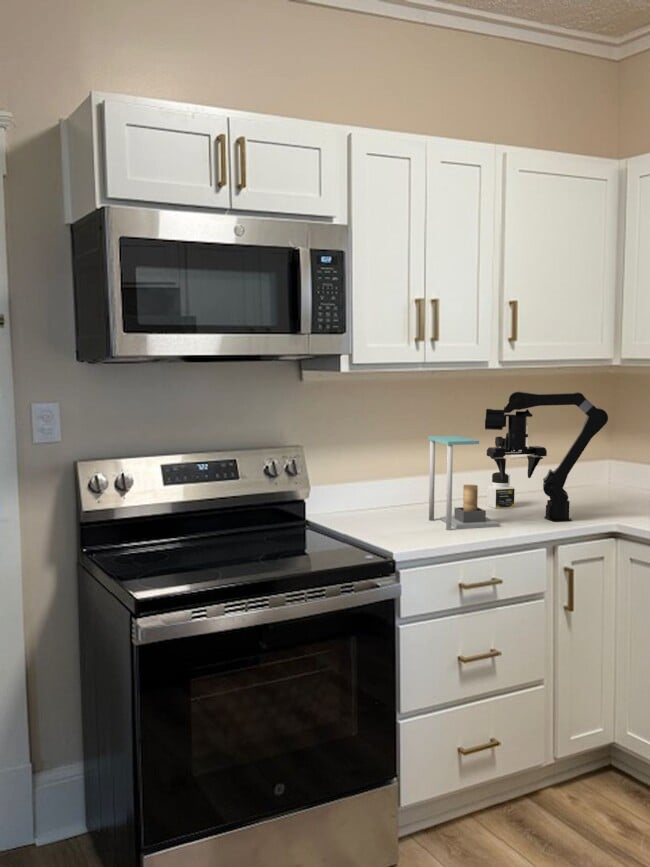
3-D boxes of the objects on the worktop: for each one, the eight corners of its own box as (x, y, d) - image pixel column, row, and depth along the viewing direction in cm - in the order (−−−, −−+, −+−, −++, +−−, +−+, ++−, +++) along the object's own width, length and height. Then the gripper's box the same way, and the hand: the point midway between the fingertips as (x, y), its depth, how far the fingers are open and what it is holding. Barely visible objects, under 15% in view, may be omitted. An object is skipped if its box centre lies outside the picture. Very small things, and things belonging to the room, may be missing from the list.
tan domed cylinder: (469, 518, 277) (470, 484, 276) (480, 520, 274) (480, 485, 272) (460, 520, 274) (460, 485, 273) (470, 522, 271) (471, 487, 270)
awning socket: (479, 517, 284) (480, 435, 281) (501, 527, 267) (503, 440, 265) (427, 519, 280) (428, 436, 277) (446, 530, 263) (448, 441, 261)
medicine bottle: (495, 509, 299) (496, 474, 298) (486, 505, 306) (487, 471, 305) (514, 508, 301) (515, 473, 300) (504, 504, 308) (505, 471, 307)
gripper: (532, 427, 290) (530, 474, 292) (480, 428, 286) (479, 475, 287) (548, 430, 280) (546, 478, 281) (494, 431, 275) (493, 480, 277)
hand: (516, 478), depth 282 cm, fingers open, 9 cm apart
